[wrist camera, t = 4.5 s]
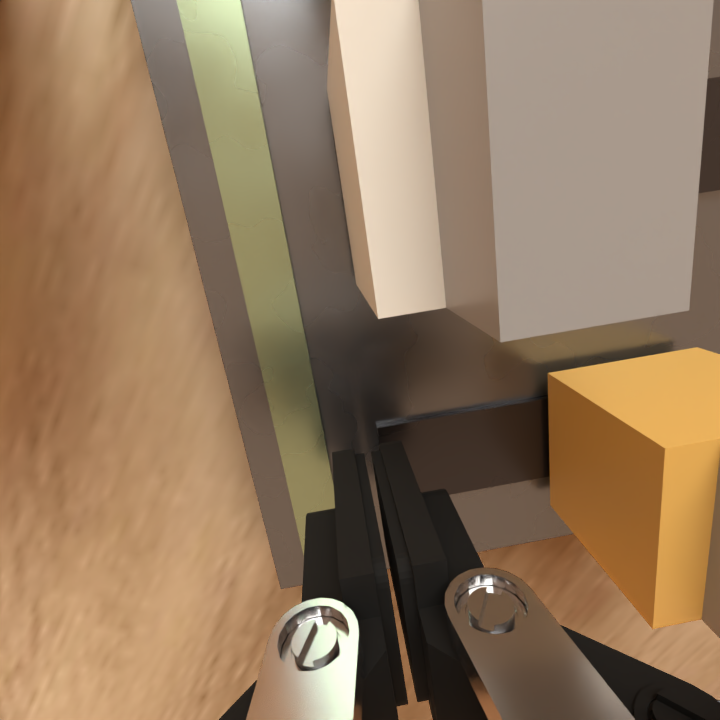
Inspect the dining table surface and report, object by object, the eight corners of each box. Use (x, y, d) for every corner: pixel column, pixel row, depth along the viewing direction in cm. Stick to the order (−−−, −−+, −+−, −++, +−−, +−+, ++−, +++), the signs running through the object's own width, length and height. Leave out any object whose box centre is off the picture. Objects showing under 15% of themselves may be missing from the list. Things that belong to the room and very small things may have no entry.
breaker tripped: (697, 347, 11) (1080, 468, 6) (685, 480, 13) (991, 691, 7) (547, 372, 11) (785, 525, 5) (550, 505, 12) (748, 744, 7)
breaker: (517, 60, 9) (854, -221, 3) (524, 257, 10) (781, 295, 5) (327, 88, 9) (339, -158, 3) (356, 284, 10) (403, 359, 4)
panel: (1024, -440, 9) (1229, -632, 7) (843, 439, 16) (925, 472, 14) (72, -343, 9) (-9, -529, 6) (285, 542, 15) (280, 594, 13)
